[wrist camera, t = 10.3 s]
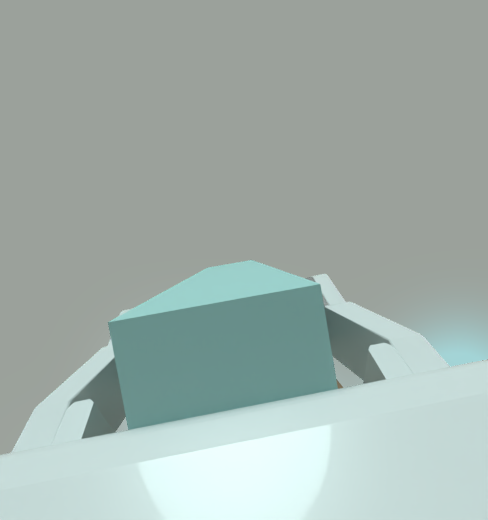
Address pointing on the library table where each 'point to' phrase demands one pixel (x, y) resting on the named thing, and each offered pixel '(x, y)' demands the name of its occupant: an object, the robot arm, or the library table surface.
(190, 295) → the batten
